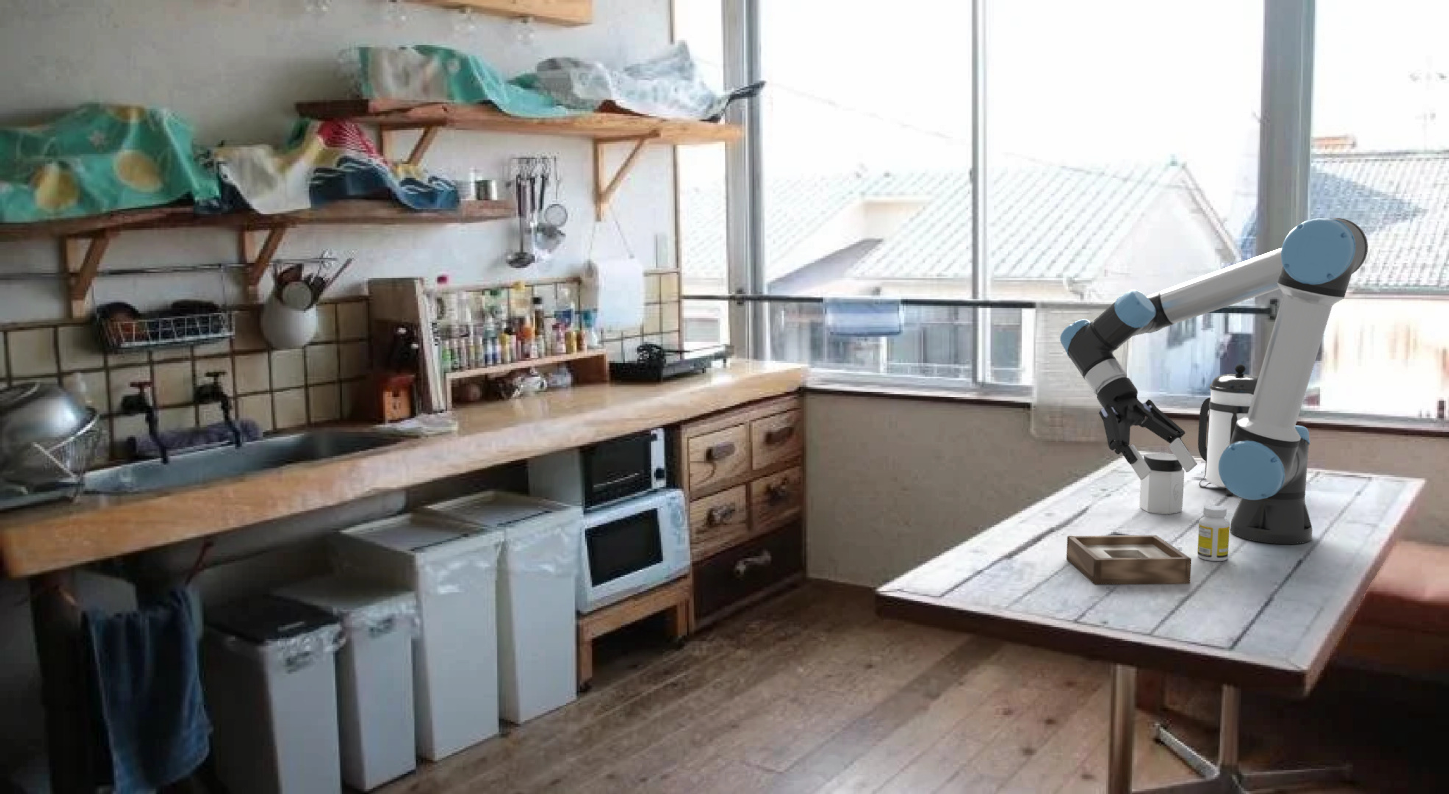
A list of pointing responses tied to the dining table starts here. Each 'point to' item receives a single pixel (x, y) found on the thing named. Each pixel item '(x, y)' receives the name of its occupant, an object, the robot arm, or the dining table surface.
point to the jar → (1162, 484)
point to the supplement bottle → (1213, 534)
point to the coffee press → (1223, 418)
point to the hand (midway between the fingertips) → (1169, 472)
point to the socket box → (1128, 560)
